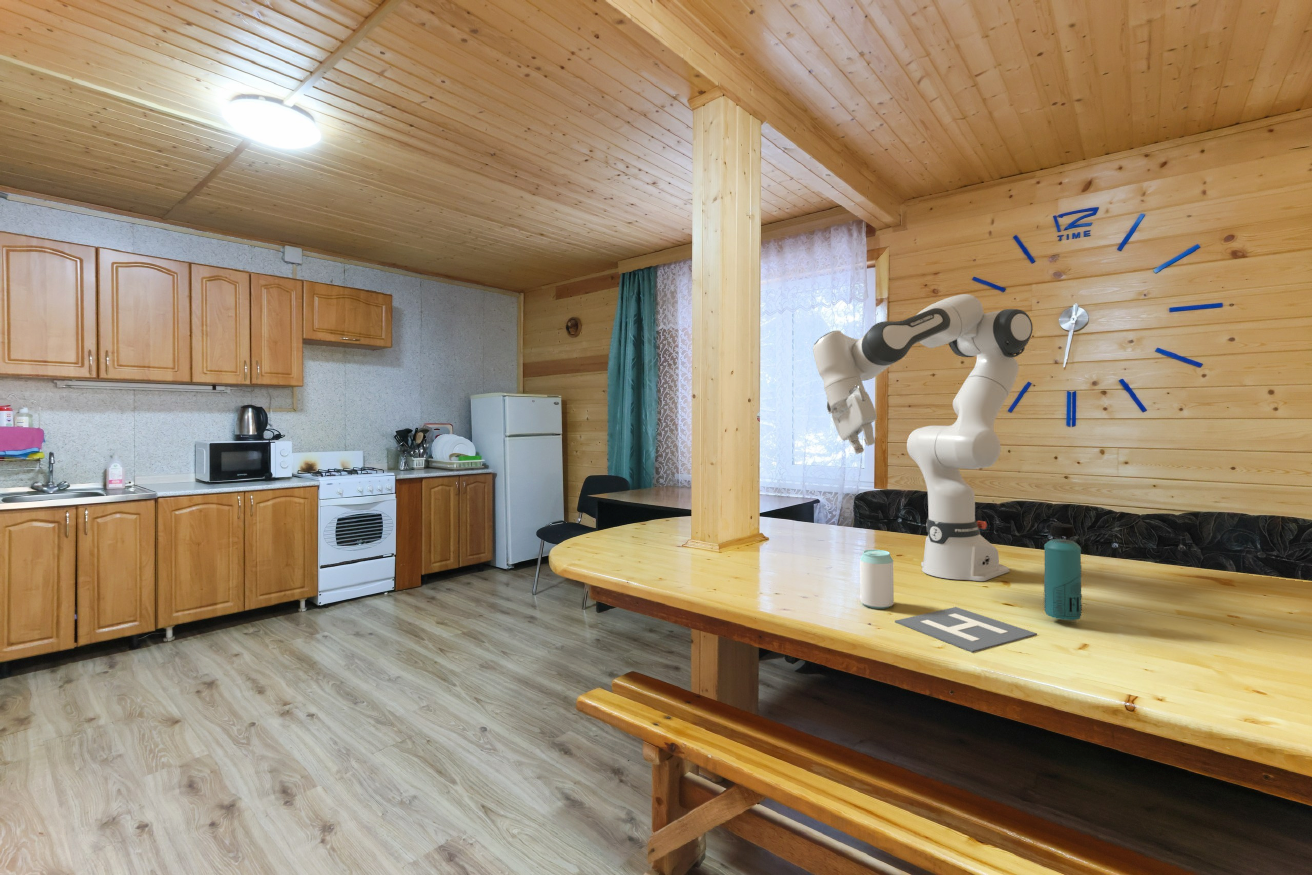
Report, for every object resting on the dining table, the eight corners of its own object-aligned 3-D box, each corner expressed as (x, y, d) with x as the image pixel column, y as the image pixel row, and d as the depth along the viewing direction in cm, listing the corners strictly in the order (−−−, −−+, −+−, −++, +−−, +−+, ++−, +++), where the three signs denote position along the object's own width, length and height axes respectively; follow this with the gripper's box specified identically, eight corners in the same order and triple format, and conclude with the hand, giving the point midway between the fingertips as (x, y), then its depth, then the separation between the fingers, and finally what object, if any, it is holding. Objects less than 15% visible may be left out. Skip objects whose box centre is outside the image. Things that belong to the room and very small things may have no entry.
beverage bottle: (1070, 630, 119) (1071, 528, 118) (1036, 620, 125) (1036, 523, 124) (1089, 624, 122) (1089, 524, 121) (1054, 614, 128) (1054, 520, 127)
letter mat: (955, 608, 133) (955, 606, 133) (1036, 634, 117) (1036, 632, 117) (894, 621, 126) (894, 620, 126) (972, 652, 109) (972, 650, 109)
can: (896, 610, 133) (895, 556, 132) (862, 609, 134) (861, 555, 134) (890, 600, 140) (890, 548, 139) (858, 599, 141) (857, 548, 141)
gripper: (871, 378, 138) (892, 435, 135) (848, 403, 158) (866, 454, 154) (844, 385, 138) (864, 442, 135) (825, 409, 158) (842, 460, 154)
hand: (865, 448), depth 145 cm, fingers open, 8 cm apart
